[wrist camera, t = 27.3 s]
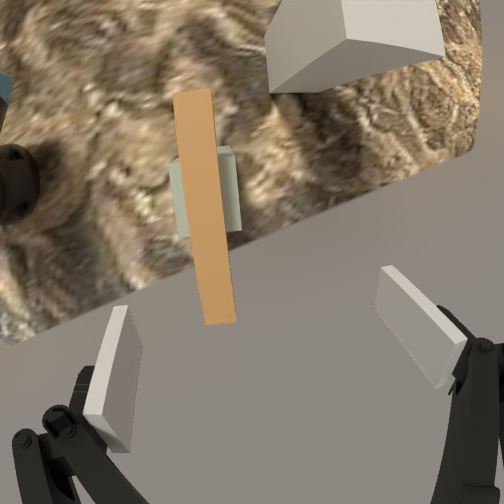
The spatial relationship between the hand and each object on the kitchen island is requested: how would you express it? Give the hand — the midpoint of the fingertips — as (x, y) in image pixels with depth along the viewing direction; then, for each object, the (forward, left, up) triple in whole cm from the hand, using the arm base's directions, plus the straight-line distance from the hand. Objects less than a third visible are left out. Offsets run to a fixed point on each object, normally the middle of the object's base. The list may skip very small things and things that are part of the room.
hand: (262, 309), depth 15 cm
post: (+11, +19, -37) cm, 43 cm away
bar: (-3, +2, -15) cm, 15 cm away
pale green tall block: (-3, +3, -37) cm, 37 cm away
